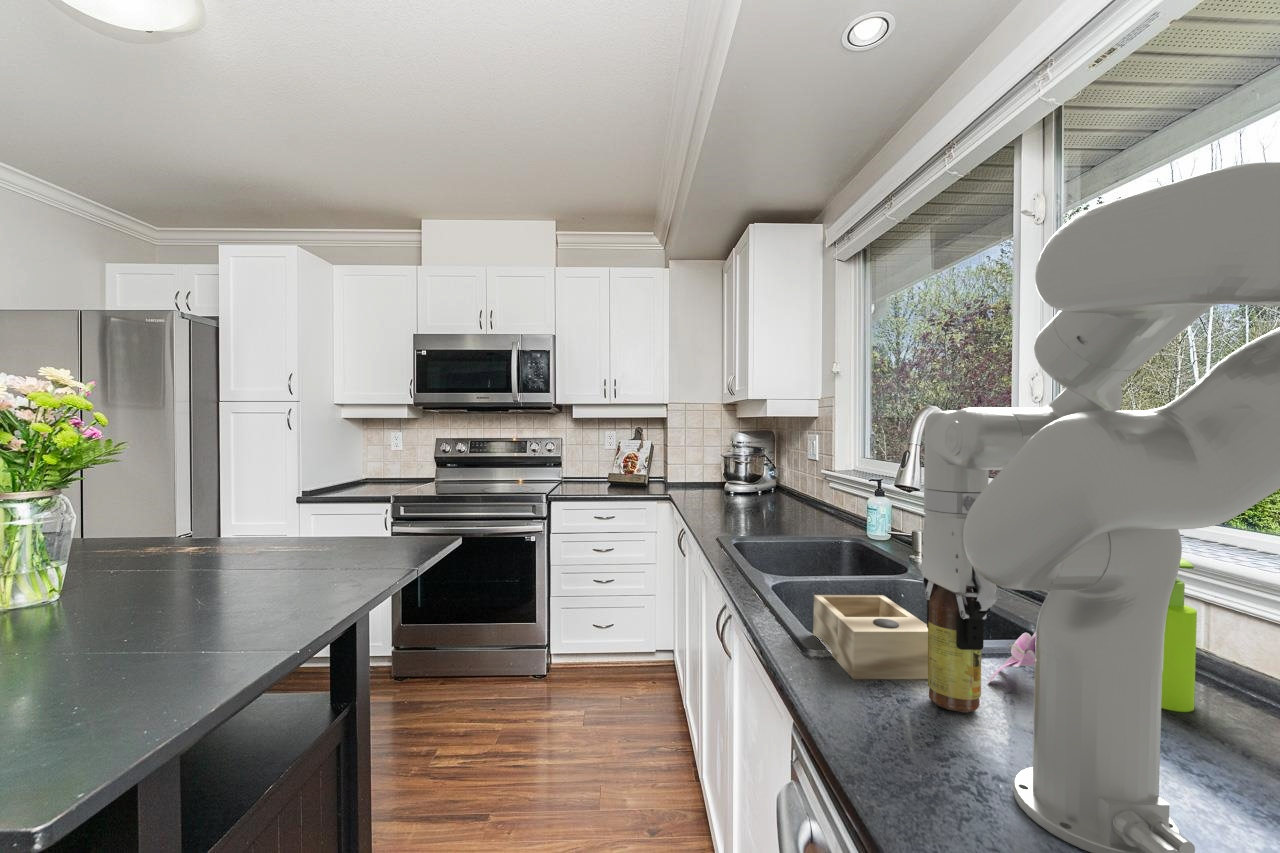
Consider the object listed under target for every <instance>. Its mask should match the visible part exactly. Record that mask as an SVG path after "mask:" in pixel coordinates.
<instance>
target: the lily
mask: <svg viewBox="0 0 1280 853" xmlns="http://www.w3.org/2000/svg"><path fill="white" fill-rule="evenodd" d="M1035 643H1036V631H1035V632H1034V633H1033V634H1032V635H1031V634H1030V633H1028V632H1024V633H1022V634H1021V635H1020V636H1019V637H1018V638H1017V639H1016V640H1015V642H1012V644H1011V643H1008V645H1007V647H1008V648H1011V650H1010V654H1011V656H1010V657H1009V658H1008V659H1007V660H1005V662H1004V663H1003V664H1001V666H999V667H998V668H997V669H996V670H994V672H993V674H992V675H991V676H990V679H989V680H988V682H987V685H989V684H990V683H991V682H992V681H993V679H994V678H995V677H996V676H997V675H998V674H999V673H1000V672H1001V671H1002V670H1003V669H1005V668H1010V667H1014V668H1015V667H1016V668H1018V667H1029V666H1030V667H1031V666H1032V667H1033V666H1034V667H1035Z"/></svg>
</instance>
